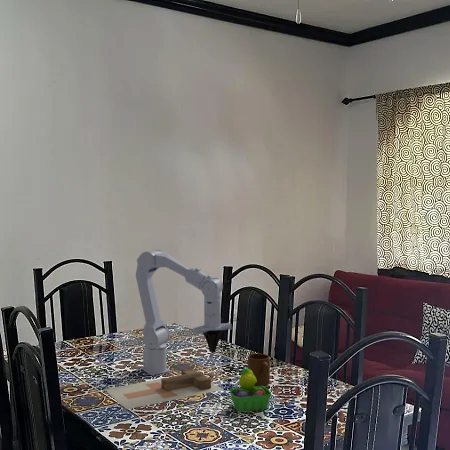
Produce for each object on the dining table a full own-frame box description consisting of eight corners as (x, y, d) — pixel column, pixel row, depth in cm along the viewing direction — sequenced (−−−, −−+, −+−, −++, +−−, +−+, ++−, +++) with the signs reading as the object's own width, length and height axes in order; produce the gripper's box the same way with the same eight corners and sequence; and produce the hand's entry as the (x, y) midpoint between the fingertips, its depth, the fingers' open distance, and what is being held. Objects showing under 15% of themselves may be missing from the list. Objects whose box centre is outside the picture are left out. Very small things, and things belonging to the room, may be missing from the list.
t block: (155, 383, 194) (155, 374, 194) (191, 376, 201) (191, 368, 201) (173, 395, 182) (173, 386, 182) (211, 388, 189) (211, 379, 189)
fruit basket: (235, 414, 167) (236, 376, 167) (227, 403, 176) (227, 367, 175) (272, 410, 170) (272, 373, 170) (262, 400, 179) (262, 365, 178)
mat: (104, 390, 187) (104, 389, 187) (194, 374, 205) (194, 372, 205) (126, 410, 170) (126, 409, 170) (223, 390, 188) (223, 389, 188)
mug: (277, 390, 188) (278, 362, 187) (256, 392, 185) (256, 364, 185) (265, 379, 199) (265, 352, 199) (244, 380, 197) (244, 354, 196)
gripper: (199, 317, 190) (199, 357, 191) (236, 313, 198) (236, 351, 199) (189, 314, 196) (190, 352, 197) (225, 309, 204) (225, 346, 205)
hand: (212, 351), depth 198 cm, fingers closed
